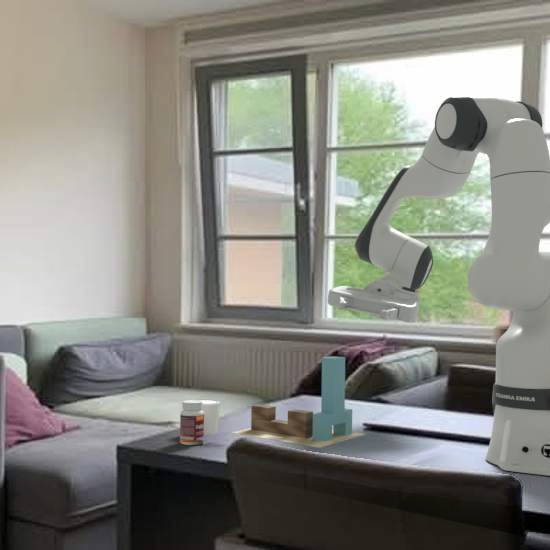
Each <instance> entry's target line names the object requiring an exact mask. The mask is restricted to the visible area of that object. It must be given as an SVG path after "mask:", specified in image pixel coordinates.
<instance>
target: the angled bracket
mask: <svg viewBox="0 0 550 550" xmlns="http://www.w3.org/2000/svg"><path fill="white" fill-rule="evenodd" d="M345 389H346V357H345V356H336V355H335V356H334V355H332V356H325V357H324V356H323V357H321V411H319V412H315V413H313V439H314V440H321V441H328V440H331V439H332V429H333V434H339V435H349V434H352V432H353V409H352V408H346V407H345V406H346V405H345V403H346V402H345V397H346V394H345V393H346V390H345Z"/></svg>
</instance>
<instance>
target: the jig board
mask: <svg viewBox="0 0 550 550" xmlns="http://www.w3.org/2000/svg"><path fill="white" fill-rule="evenodd" d="M276 408H277V406H274V405H268V404H260V403H259V404H254V405H253V404H252V405H251V408H250V409H251V412H250V413H251V414H250V415H251V417H250V418H251V419H250V420H251V423H250V428H243V429H241V430H236V431H231V433H232V434H235V435H236V434H237V435H242V436H248V437H255V438H259V439H266V440H271V441H272V440H273V441H277V442H284V443H290V444H295V445H301V446H306V447H312V448H318V449H319V448H320V449H321V448H325V447H328V446H331V445H335V444H339V443H341V442H345V441H349V440H352V439H355V438H359V437H363V436H366V435H367V434H366V433H363V432H362V433H361V432H356V431H355V432H354V431H352V434H349V435H339V434H333V428H332V439H331V440H328V441H321V440H314V439H313V414H314V411H311V410H303V409H297V408H294V409H289V410H287V420H280V419H276V416H277V413H276V411H277V409H276Z"/></svg>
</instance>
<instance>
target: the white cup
mask: <svg viewBox="0 0 550 550" xmlns="http://www.w3.org/2000/svg"><path fill="white" fill-rule="evenodd" d="M197 400H198V401H202V409H201V410H202V411H203V412H204V436H203V437H206V436H210V435H215V434H218V433H219V431H218V430H219V429H218V428H219V421H220V410H221V401H219V400H216V399H197Z"/></svg>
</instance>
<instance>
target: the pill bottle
mask: <svg viewBox="0 0 550 550" xmlns="http://www.w3.org/2000/svg"><path fill="white" fill-rule="evenodd" d="M198 400H199V399H188V400H187V399H186V400H183V401H182V404H181V405H182V407H181V408H182V410H181V411H180V414H179V418H180V419H179V420H180V421H179V428H180V431H179V441H180V444H182V445H187V446H198V445H202V444H204V440H202V439H197V438H203V437H205V436H204V412H203V411H202V410H201V409H202V401H198Z"/></svg>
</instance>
